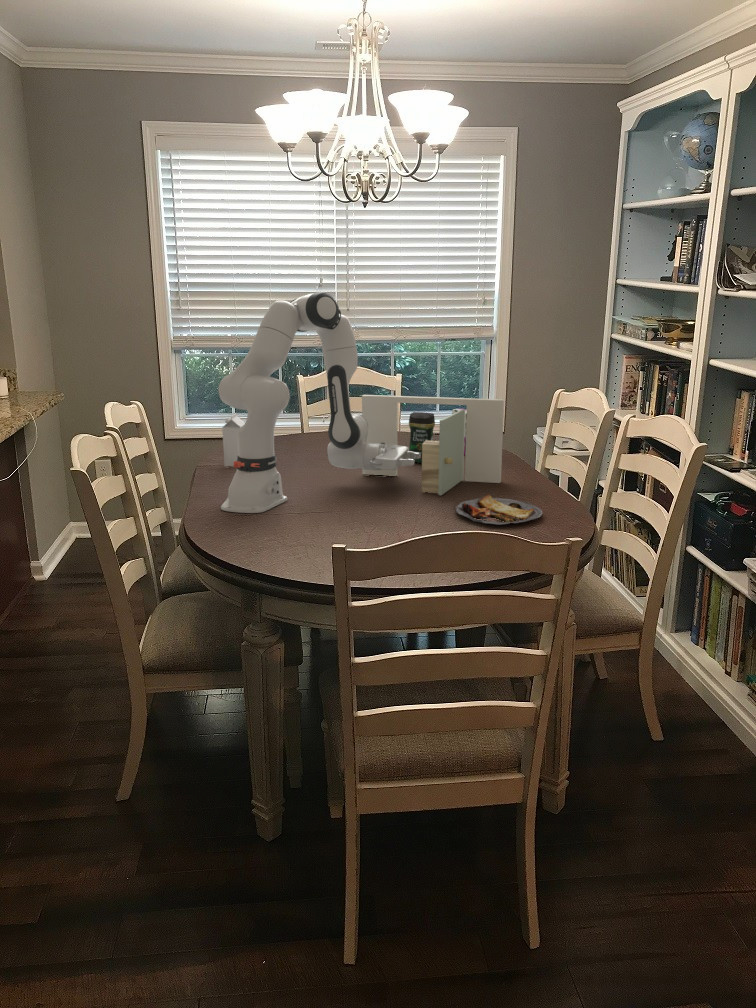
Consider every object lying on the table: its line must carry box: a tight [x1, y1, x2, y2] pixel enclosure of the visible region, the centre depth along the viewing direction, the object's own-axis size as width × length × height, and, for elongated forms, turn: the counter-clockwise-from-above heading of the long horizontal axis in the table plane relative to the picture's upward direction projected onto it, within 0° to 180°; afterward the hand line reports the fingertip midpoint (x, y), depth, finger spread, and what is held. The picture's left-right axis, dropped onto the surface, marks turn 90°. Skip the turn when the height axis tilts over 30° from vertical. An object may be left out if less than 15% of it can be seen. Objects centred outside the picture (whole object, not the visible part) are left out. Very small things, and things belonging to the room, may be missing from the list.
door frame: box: [361, 394, 505, 484], centre depth 274 cm, size 2×48×28 cm, turn 76°
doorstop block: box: [421, 440, 439, 494], centre depth 261 cm, size 6×6×16 cm
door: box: [437, 408, 466, 496], centre depth 262 cm, size 3×22×24 cm, turn 156°
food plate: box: [454, 494, 543, 526], centre depth 236 cm, size 25×23×4 cm
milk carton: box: [222, 412, 246, 467], centre depth 295 cm, size 7×7×19 cm
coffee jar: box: [407, 411, 436, 464], centre depth 300 cm, size 10×8×19 cm
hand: (417, 459), depth 261 cm, fingers open, 8 cm apart
